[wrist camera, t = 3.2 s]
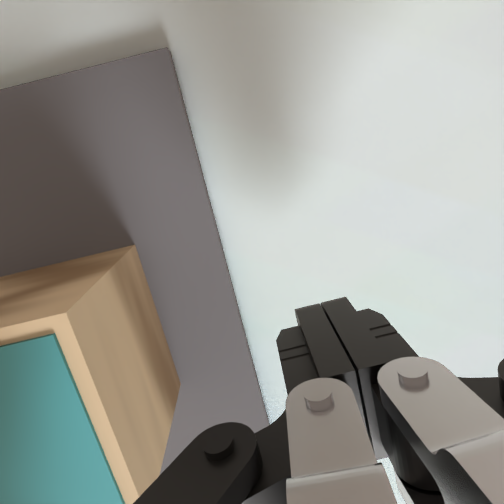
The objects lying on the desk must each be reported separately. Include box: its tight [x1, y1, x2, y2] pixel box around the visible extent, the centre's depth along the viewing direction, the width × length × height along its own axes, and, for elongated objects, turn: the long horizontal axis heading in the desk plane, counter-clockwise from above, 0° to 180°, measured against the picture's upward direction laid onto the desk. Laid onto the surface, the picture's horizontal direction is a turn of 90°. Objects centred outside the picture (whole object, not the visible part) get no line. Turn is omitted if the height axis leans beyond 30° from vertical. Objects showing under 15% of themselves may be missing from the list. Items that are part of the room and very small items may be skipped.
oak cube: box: [0, 245, 181, 504], centre depth 12 cm, size 6×6×6 cm
